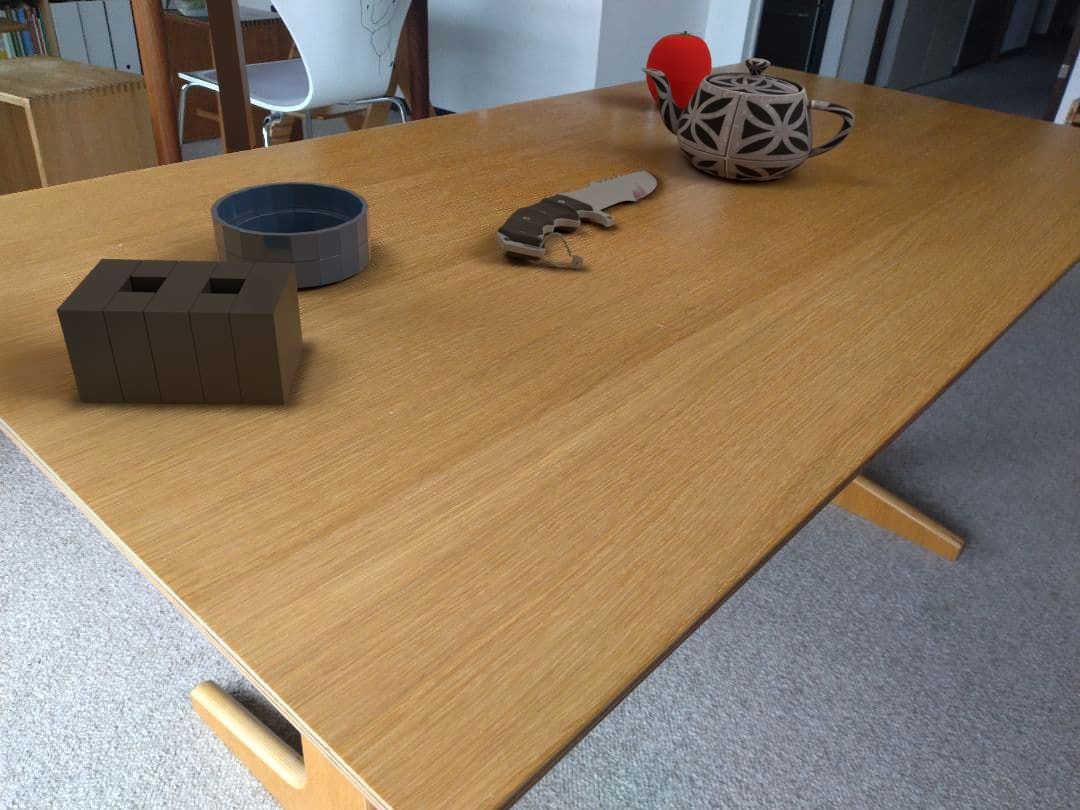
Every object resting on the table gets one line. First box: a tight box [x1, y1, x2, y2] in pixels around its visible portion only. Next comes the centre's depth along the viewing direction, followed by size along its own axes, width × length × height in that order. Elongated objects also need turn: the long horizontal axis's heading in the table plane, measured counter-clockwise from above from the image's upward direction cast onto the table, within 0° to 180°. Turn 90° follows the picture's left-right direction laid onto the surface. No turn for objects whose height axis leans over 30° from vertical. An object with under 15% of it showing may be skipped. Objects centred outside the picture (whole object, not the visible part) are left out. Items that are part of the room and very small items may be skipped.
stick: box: [205, 0, 257, 151], centre depth 72 cm, size 2×2×18 cm
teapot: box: [640, 57, 856, 182], centre depth 124 cm, size 19×31×15 cm, turn 68°
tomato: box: [645, 30, 713, 110], centre depth 152 cm, size 11×11×13 cm
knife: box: [494, 170, 658, 270], centre depth 106 cm, size 36×10×4 cm, turn 159°
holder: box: [56, 258, 304, 406], centre depth 69 cm, size 15×9×8 cm, turn 94°
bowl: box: [209, 181, 372, 289], centre depth 89 cm, size 15×15×6 cm
